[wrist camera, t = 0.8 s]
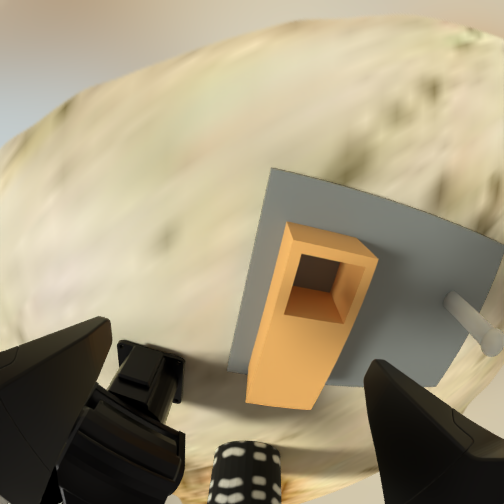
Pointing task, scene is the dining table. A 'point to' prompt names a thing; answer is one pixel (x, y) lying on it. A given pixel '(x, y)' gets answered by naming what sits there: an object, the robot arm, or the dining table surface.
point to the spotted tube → (245, 474)
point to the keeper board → (378, 279)
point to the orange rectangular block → (306, 319)
